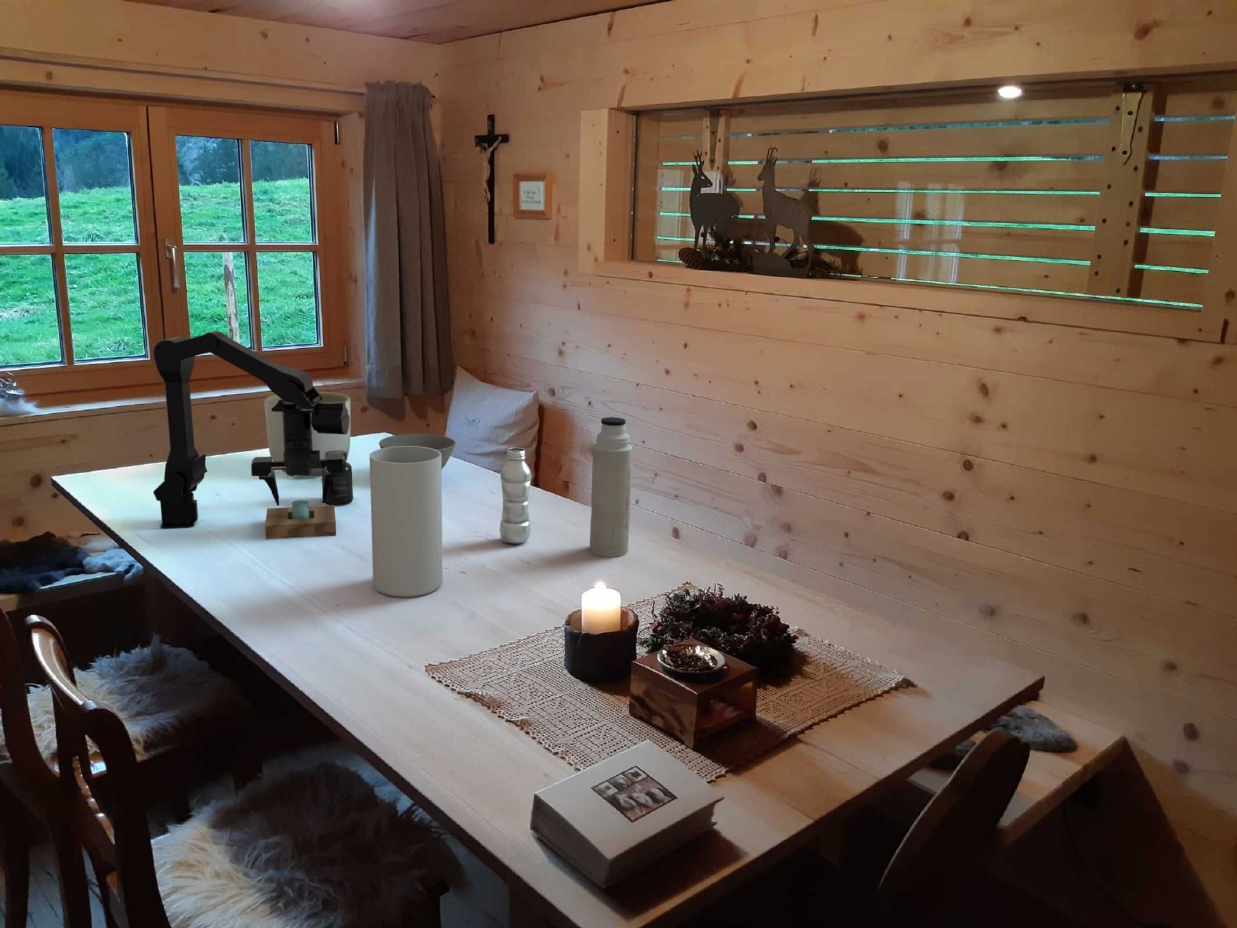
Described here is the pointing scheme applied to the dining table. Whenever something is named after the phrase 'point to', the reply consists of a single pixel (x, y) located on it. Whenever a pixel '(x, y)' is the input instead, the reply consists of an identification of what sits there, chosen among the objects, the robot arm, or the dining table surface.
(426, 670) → the dining table surface
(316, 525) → the bore block
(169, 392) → the robot arm
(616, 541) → the thermos bottle
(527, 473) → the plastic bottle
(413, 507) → the cylinder vase
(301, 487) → the dining table surface
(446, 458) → the bowl
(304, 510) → the pin
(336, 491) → the supplement bottle
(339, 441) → the planter
